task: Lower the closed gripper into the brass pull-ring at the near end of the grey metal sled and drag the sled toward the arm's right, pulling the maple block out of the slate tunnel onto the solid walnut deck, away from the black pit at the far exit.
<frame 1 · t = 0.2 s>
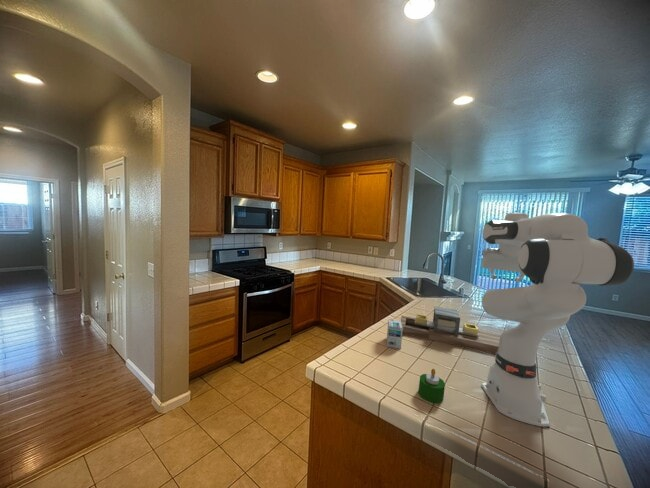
hand: (505, 280, 114), 39 cm above the counter, tool pointing down, fingers open, 8 cm apart
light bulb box: (393, 343, 130), on the counter
tunnel deck: (443, 336, 143), on the counter
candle: (430, 395, 91), on the counter
sled: (445, 325, 143), point 6 cm above the counter, slide at 0.0 cm
maple block: (444, 329, 143), point 4 cm above the counter, touching tunnel deck
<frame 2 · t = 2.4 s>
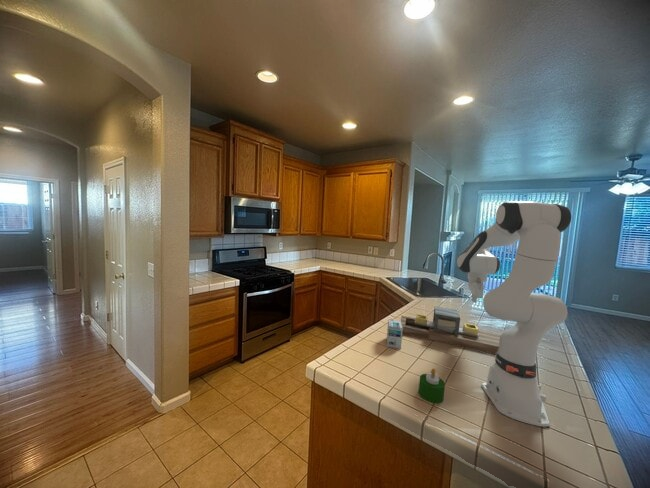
hand: (473, 301, 137), 22 cm above the counter, tool pointing down, fingers closed
nothing on the counter moved.
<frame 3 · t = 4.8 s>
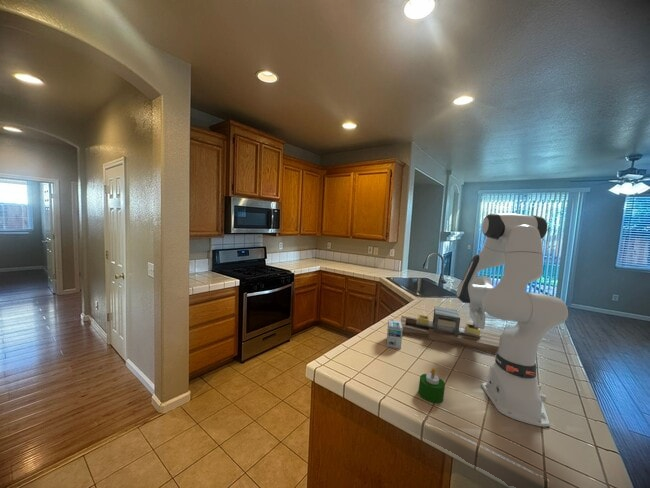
hand: (475, 330, 137), 7 cm above the counter, tool pointing down, fingers closed, pressing on sled
sled: (447, 325, 142), point 6 cm above the counter, slide at 1.0 cm, touching gripper, maple block
maple block: (445, 329, 143), point 4 cm above the counter, touching sled
everything else where it was.
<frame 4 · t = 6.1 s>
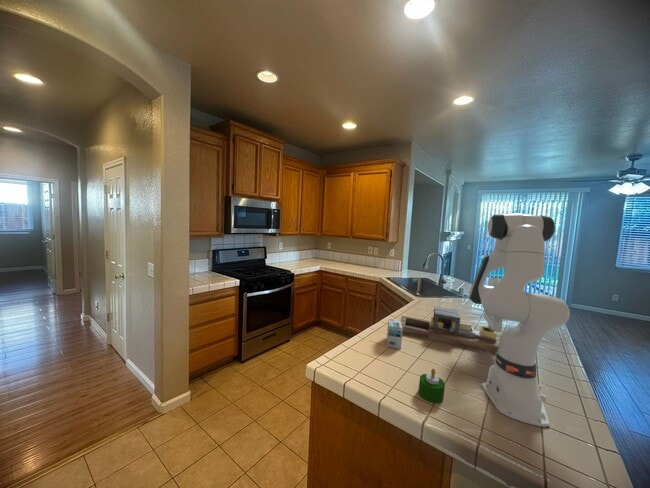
hand: (490, 333, 135), 7 cm above the counter, tool pointing down, fingers closed, pressing on sled
sled: (461, 328, 140), point 6 cm above the counter, slide at 8.2 cm, touching gripper
maple block: (459, 332, 140), point 4 cm above the counter, touching tunnel deck
everything else where it was.
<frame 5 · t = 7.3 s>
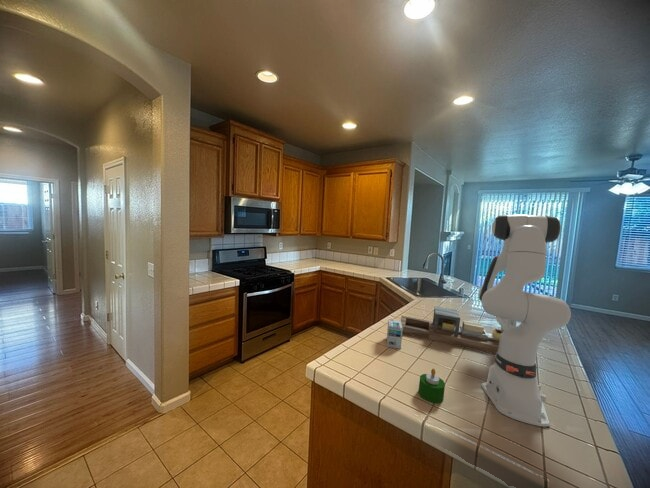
hand: (503, 336, 133), 7 cm above the counter, tool pointing down, fingers closed, pressing on sled
sled: (473, 330, 138), point 6 cm above the counter, slide at 14.0 cm, touching gripper
maple block: (471, 334, 138), point 4 cm above the counter
everything else where it was.
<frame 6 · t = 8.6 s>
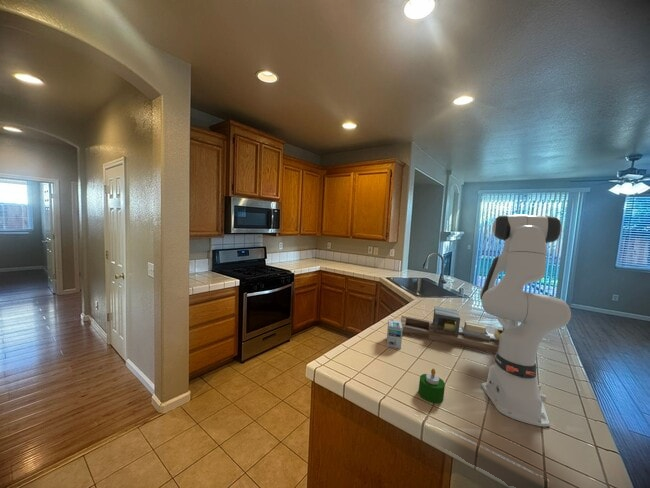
hand: (505, 336, 132), 7 cm above the counter, tool pointing down, fingers closed
sled: (475, 331, 137), point 6 cm above the counter, slide at 15.0 cm, touching maple block
maple block: (473, 335, 138), point 4 cm above the counter, touching sled, tunnel deck
everything else where it was.
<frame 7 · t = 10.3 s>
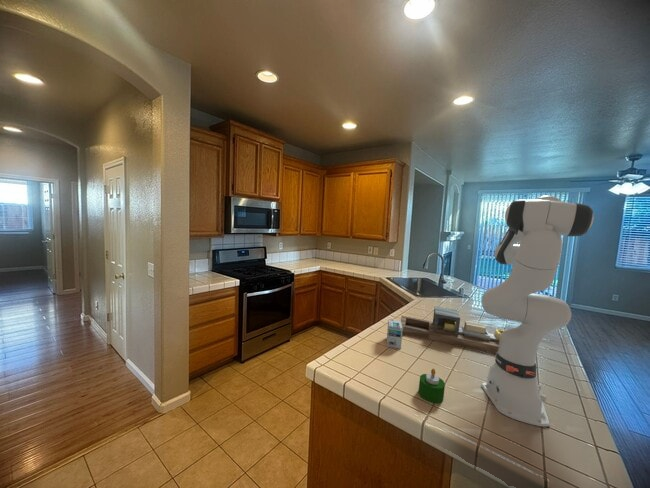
hand: (520, 300, 124), 28 cm above the counter, tool pointing down, fingers closed
nothing on the counter moved.
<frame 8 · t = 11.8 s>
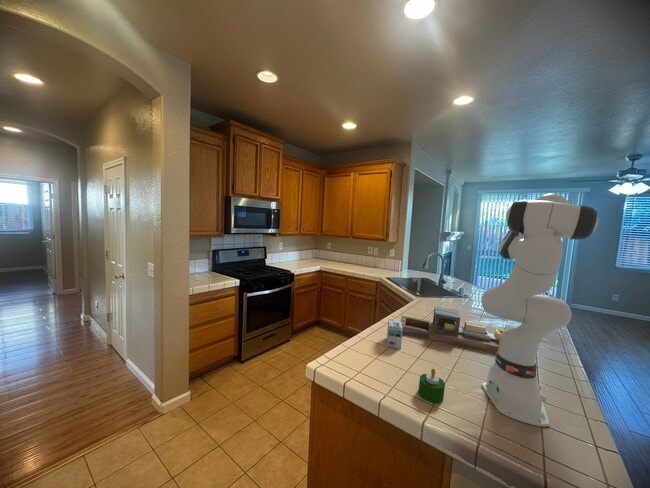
hand: (525, 295, 122), 31 cm above the counter, tool pointing down, fingers closed
nothing on the counter moved.
at the end: maple block inside the target area (2.3 cm from its centre), point 4.0 cm above the counter; maple block tilted 0°; sled slide at 15.0 cm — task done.
